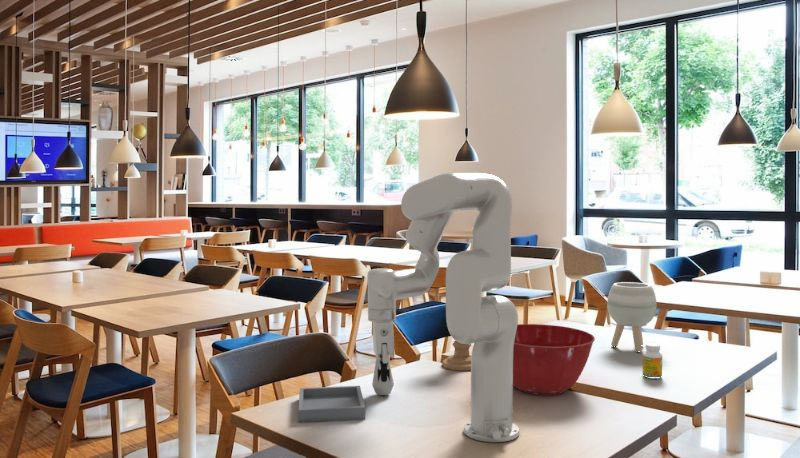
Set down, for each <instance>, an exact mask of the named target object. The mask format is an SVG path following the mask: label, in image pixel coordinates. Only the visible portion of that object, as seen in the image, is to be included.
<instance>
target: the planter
mask: <svg viewBox="0 0 800 458" xmlns="http://www.w3.org/2000/svg"><path fill="white" fill-rule="evenodd" d="M606 304H607V306H606V307H607V311H608V314H609V316H610V318H611V319H612V320H613V321H614V322H615V323H616V327H615V330H614V333H613V337H612V340H611V344H610V346H611V345H612V346H617V347H618V345H619V342H620V339H621V337H622V335H623V332H624V329H625V327H631V330H632V337H633V345H634V351H635V352H636V351H643V346H644V340H643V339H644V338H643V332H642V327H646V326H647V325H648V324H649V323H651V321H652V320H653V319H654V317H655V316H656V313H657V307H658V305H657V297H656V293H655V291H654V288H653V286H652V285H651V284H649V283H643V282H633V281H632V282H631V281H629V282H627V281H626V282H625V281H621V282H614V283H613V284H612V285H611V287H610V290H609V292H608V296H607V303H606ZM641 345H643V346H641ZM612 346H611V347H612Z"/></svg>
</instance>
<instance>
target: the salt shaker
mask: <svg viewBox="0 0 800 458" xmlns="http://www.w3.org/2000/svg"><path fill="white" fill-rule="evenodd" d="M380 357H382V356H380ZM381 361H382V360H381ZM378 369H379V365H378V358H377V357H376V356H375V365H374V371H373V376H372V377H373V378H372V383H371V385H372V388H373V390H374V393H375V394H376V395H377V396H387V395H390V394H392V390H393V387H394V385H395V383H394V382H395V381H394V378H393V373H392V369H391V364H390V362H389V369H390V381H389V378H388V376H387V381H386V382H382V381H381V375H380V378H379V381H378Z"/></svg>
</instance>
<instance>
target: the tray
mask: <svg viewBox="0 0 800 458" xmlns="http://www.w3.org/2000/svg"><path fill="white" fill-rule="evenodd" d="M298 396H299V398H298V423H313V422H314V423H316V422H335V421H336V422H338V421H339V422H340V421H357V420H358V421H359V420H361V421H362V420H366V406H365V401H364V397H363V393H362V389H361V385H346V386H345V385H344V386H322V387H321V386H318V387H299V395H298Z"/></svg>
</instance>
